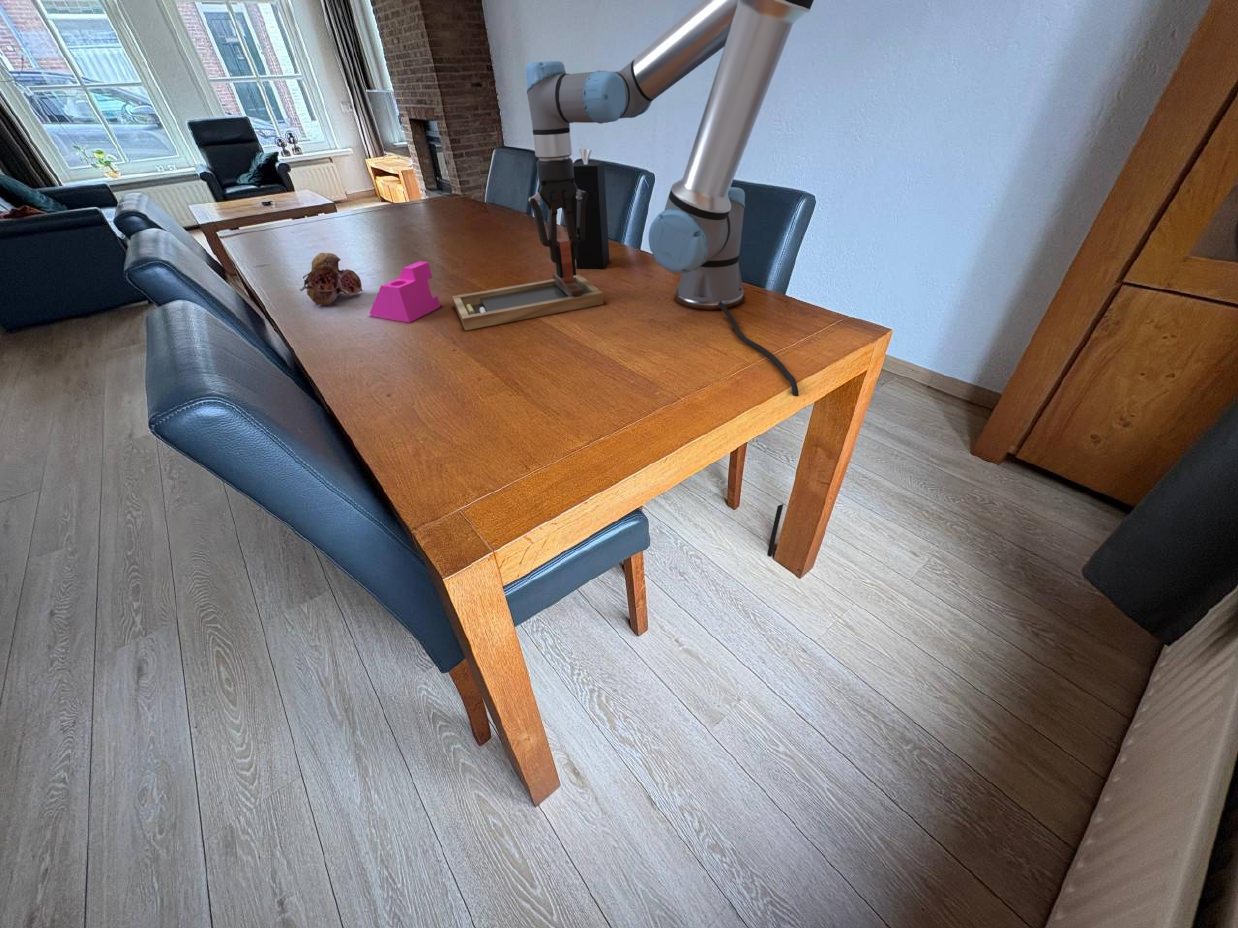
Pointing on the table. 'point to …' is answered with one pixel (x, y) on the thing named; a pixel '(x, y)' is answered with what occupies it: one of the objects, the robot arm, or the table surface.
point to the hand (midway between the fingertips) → (566, 275)
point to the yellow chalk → (470, 309)
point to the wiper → (567, 271)
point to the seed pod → (329, 280)
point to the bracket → (406, 295)
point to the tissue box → (592, 213)
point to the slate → (523, 302)
